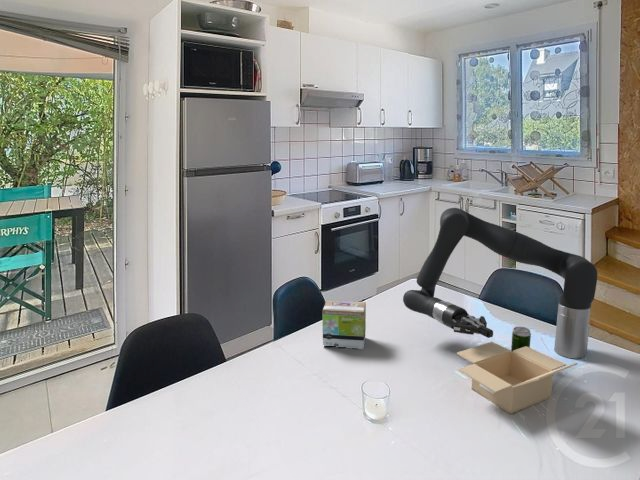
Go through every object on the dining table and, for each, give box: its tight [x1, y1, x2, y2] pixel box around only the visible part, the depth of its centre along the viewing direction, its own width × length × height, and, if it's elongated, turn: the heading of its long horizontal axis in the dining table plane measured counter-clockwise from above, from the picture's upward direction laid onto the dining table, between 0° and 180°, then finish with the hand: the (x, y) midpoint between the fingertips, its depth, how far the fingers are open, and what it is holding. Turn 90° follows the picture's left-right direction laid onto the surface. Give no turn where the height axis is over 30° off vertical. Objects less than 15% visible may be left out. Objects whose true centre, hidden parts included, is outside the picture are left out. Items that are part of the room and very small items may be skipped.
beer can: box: [510, 326, 532, 352], centre depth 139 cm, size 5×5×12 cm
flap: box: [515, 362, 578, 387], centre depth 113 cm, size 15×1×8 cm
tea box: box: [321, 299, 367, 350], centre depth 158 cm, size 15×10×15 cm, turn 81°
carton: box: [456, 341, 567, 415], centre depth 127 cm, size 28×21×8 cm
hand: (491, 334), depth 129 cm, fingers closed
